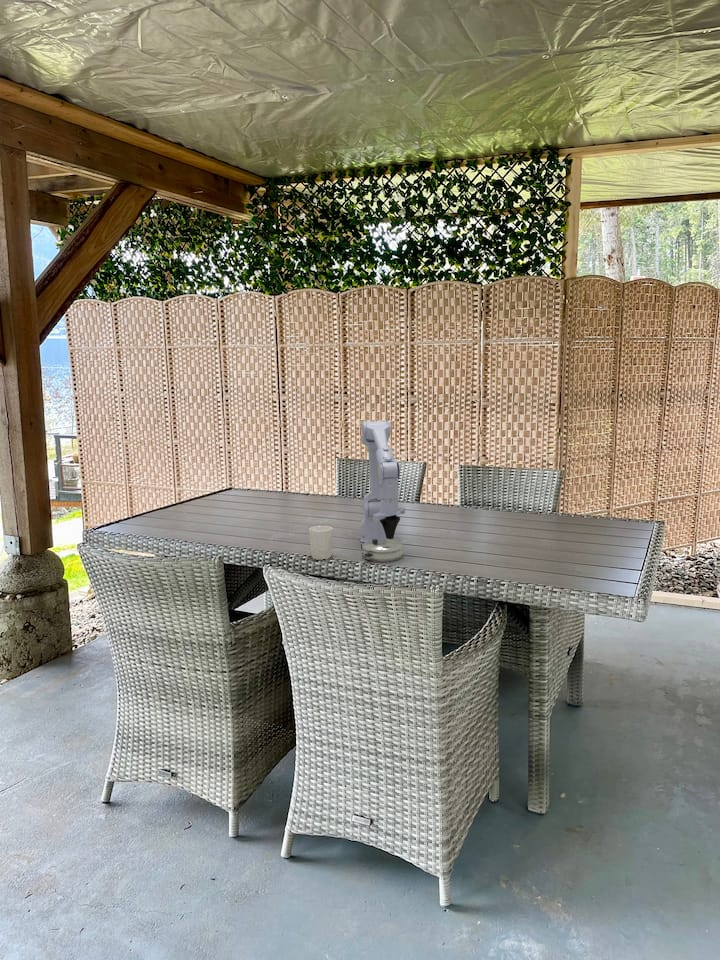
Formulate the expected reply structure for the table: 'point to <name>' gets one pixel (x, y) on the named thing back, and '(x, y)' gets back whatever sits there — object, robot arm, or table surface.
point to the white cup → (321, 542)
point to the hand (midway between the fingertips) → (389, 538)
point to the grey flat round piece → (382, 556)
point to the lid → (382, 546)
